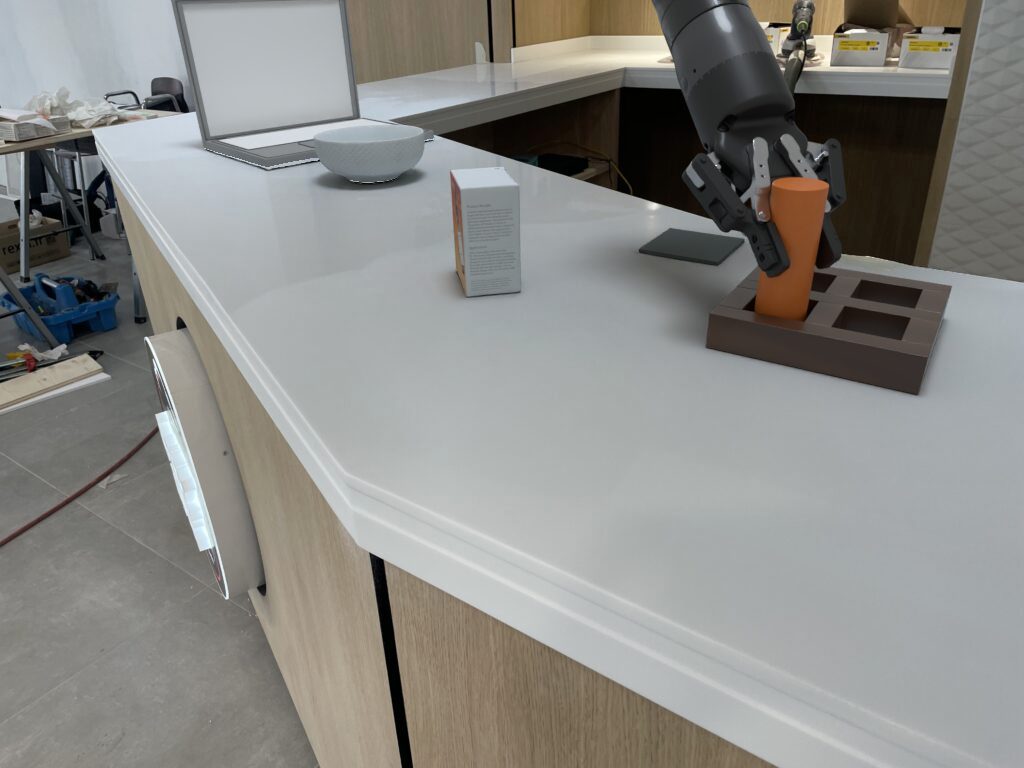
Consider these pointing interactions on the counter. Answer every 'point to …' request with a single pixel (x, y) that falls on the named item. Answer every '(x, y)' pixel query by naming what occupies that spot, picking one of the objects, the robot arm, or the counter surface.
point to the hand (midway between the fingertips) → (805, 267)
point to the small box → (486, 230)
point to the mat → (692, 246)
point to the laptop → (269, 75)
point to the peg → (793, 246)
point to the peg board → (840, 327)
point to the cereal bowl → (370, 151)
